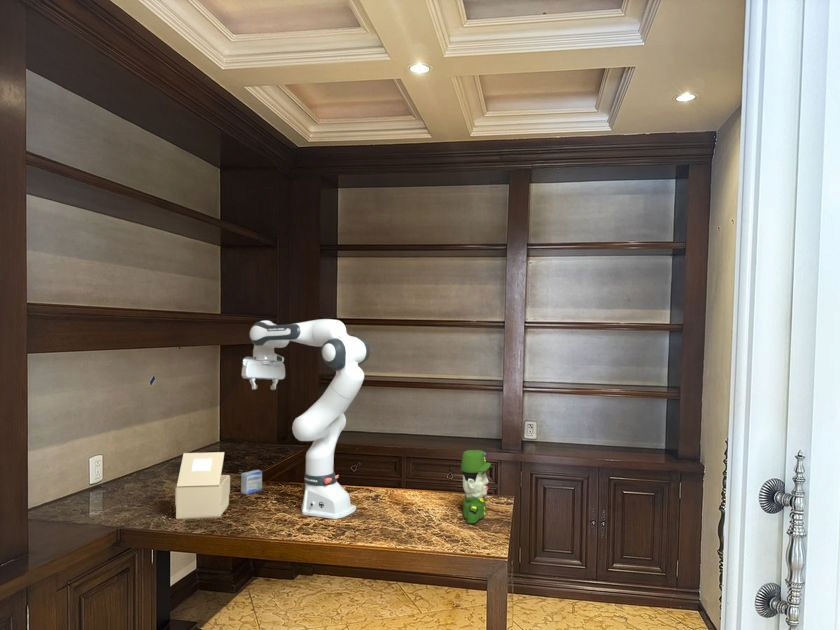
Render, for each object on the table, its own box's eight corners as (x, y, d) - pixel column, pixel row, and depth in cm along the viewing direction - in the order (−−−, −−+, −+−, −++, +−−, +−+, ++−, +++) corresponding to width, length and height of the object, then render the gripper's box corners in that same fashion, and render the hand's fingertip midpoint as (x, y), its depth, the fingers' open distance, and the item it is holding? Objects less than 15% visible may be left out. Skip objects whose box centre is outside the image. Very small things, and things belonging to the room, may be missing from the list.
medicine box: (246, 494, 227) (247, 474, 227) (240, 492, 229) (240, 473, 229) (262, 490, 233) (262, 470, 233) (256, 488, 236) (256, 469, 236)
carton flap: (184, 453, 206) (183, 453, 206) (224, 452, 208) (224, 452, 207) (177, 486, 199) (176, 486, 198) (219, 485, 200) (218, 484, 200)
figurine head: (488, 526, 193) (488, 458, 193) (456, 523, 195) (457, 456, 196) (492, 506, 214) (493, 445, 214) (464, 504, 217) (464, 443, 217)
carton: (187, 505, 213) (187, 476, 213) (230, 504, 215) (230, 474, 215) (174, 519, 198) (175, 487, 198) (221, 517, 200) (221, 485, 200)
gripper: (247, 355, 219) (247, 388, 216) (287, 358, 235) (287, 389, 232) (238, 357, 223) (238, 389, 220) (278, 360, 239) (278, 390, 236)
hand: (264, 389), depth 226 cm, fingers open, 8 cm apart
